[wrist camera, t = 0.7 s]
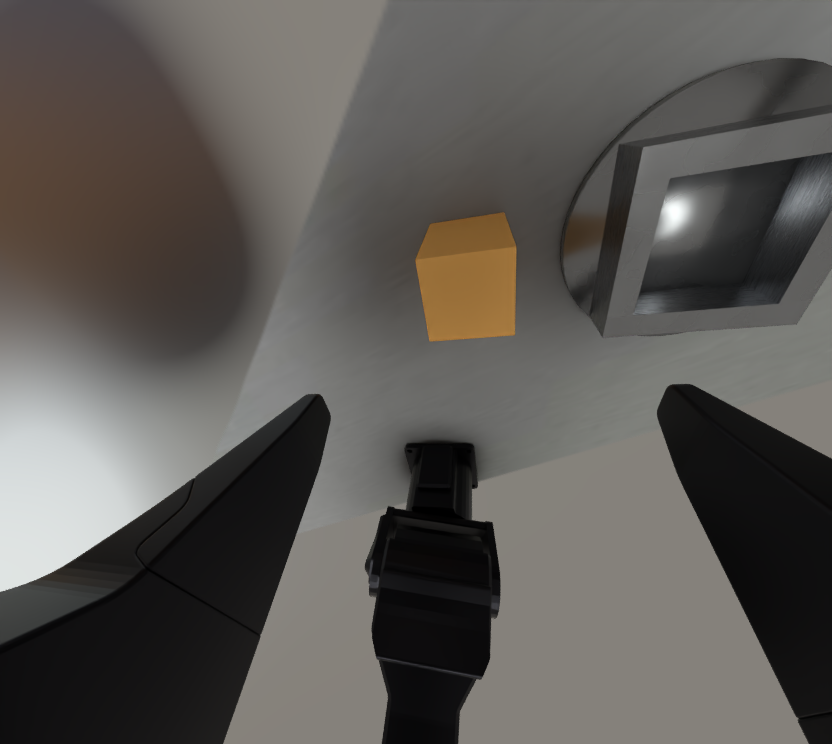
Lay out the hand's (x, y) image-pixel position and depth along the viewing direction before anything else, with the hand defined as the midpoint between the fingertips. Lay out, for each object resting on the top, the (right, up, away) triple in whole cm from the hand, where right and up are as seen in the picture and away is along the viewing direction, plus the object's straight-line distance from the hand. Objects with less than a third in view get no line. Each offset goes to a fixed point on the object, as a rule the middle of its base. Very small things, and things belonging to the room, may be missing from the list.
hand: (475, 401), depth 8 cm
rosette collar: (+12, +8, +7) cm, 16 cm away
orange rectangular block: (+2, +8, +10) cm, 13 cm away
